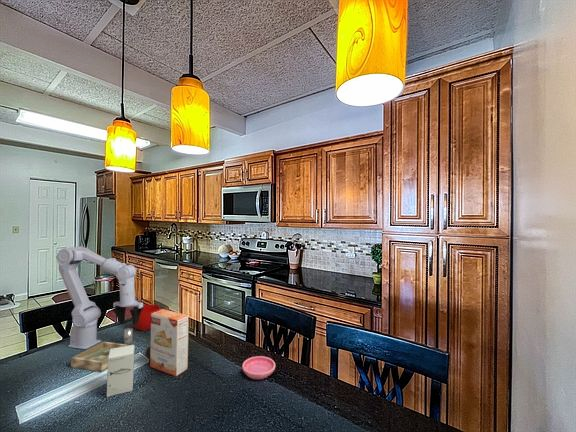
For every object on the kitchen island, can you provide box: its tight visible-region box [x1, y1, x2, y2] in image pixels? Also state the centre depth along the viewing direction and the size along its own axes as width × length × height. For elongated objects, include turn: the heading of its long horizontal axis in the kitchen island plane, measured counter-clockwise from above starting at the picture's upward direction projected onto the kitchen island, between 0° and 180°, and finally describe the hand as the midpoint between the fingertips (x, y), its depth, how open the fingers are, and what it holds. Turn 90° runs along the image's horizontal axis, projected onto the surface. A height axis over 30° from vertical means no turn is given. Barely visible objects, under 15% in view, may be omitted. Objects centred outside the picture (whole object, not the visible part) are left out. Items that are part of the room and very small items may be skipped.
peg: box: [123, 327, 134, 345], centre depth 120 cm, size 3×3×7 cm
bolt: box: [145, 345, 151, 360], centre depth 116 cm, size 6×5×15 cm
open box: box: [70, 341, 129, 373], centre depth 107 cm, size 14×14×4 cm
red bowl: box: [131, 304, 161, 332], centre depth 137 cm, size 13×17×10 cm
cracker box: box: [149, 308, 190, 377], centre depth 102 cm, size 14×6×21 cm, turn 65°
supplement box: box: [106, 344, 135, 398], centre depth 90 cm, size 7×7×13 cm
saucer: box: [241, 355, 276, 380], centre depth 101 cm, size 12×12×3 cm
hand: (128, 323), depth 120 cm, fingers open, 7 cm apart
